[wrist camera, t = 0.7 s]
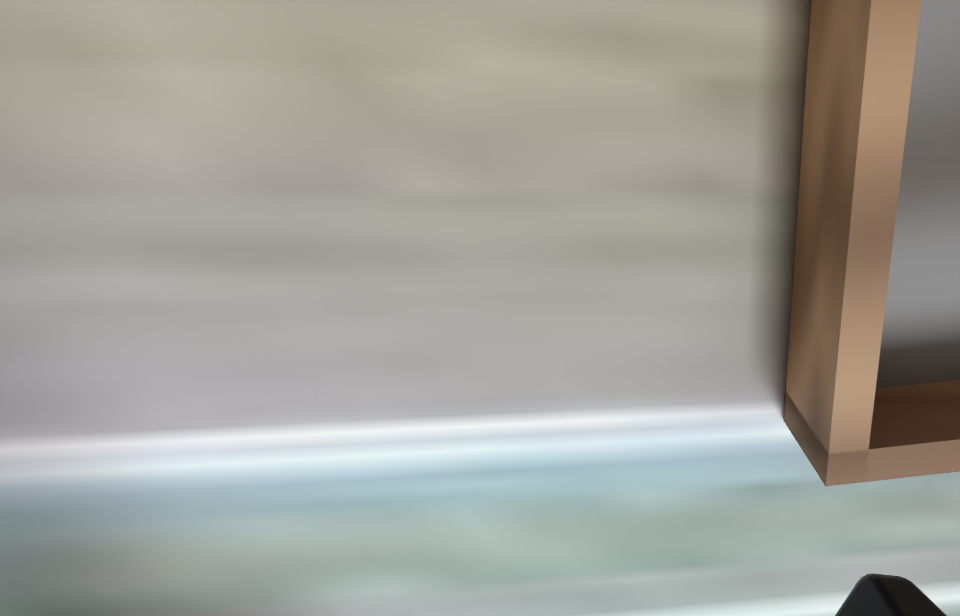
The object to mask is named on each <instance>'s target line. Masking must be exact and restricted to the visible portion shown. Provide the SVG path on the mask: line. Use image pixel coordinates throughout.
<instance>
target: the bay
mask: <svg viewBox="0 0 960 616" xmlns="http://www.w3.org/2000/svg"><path fill="white" fill-rule="evenodd" d="M784 422H785V423H786V425H787V427H788V428H789V430H790V431H791V433H792V434H793V436H794V438H795V439H796V441H797V442H798V444H799V445H800V447H801V448H802V450H803V452H804V453H805V455H806V456H807V458H808V459H809V461H810V463H811V464H812V466H813V467H814V469H815V470H816V472H817V473H818V475H819V477H820V478H821V480H822V481H823V483H824V484H825V486H832V485H841V484H850V483H859V482H868V481H877V480H886V479H895V478H904V477H913V476H922V475H931V474H940V473H949V472H958V471H960V0H811V12H810V28H809V43H808V58H807V73H806V89H805V104H804V119H803V134H802V150H801V165H800V180H799V195H798V210H797V226H796V241H795V256H794V271H793V287H792V302H791V317H790V332H789V348H788V363H787V378H786V393H785V408H784Z"/></svg>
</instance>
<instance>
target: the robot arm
mask: <svg viewBox="0 0 960 616" xmlns="http://www.w3.org/2000/svg"><path fill="white" fill-rule="evenodd" d="M835 616H947V615H945V614H944V613H943V612H942V611H941V610H940V609H939V608H938V607H937V606H936V605H935V604H934V603H933V602H932V601H931V600H930V599H929V598H928V597H927V596H926V595H925V594H924V593H923V592H922V591H921V590H920V589H919V588H918V587H916V586H915V585H914V584H913V583H912V582H911V581H909V580H907V579H905V578H903V577H899V576H891V575H881V574H867V575H865V576H863V577H862V578H861V579H860V580H859V581H858V582H857V584H856V585H855V587H854V588H853V590H852V591H851V593H850V594H849V596H848V597H847V599H846V600H845V602H844V603H843V605H842V606H841V608H840V609H839V611H838V612H837V614H836V615H835Z"/></svg>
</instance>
